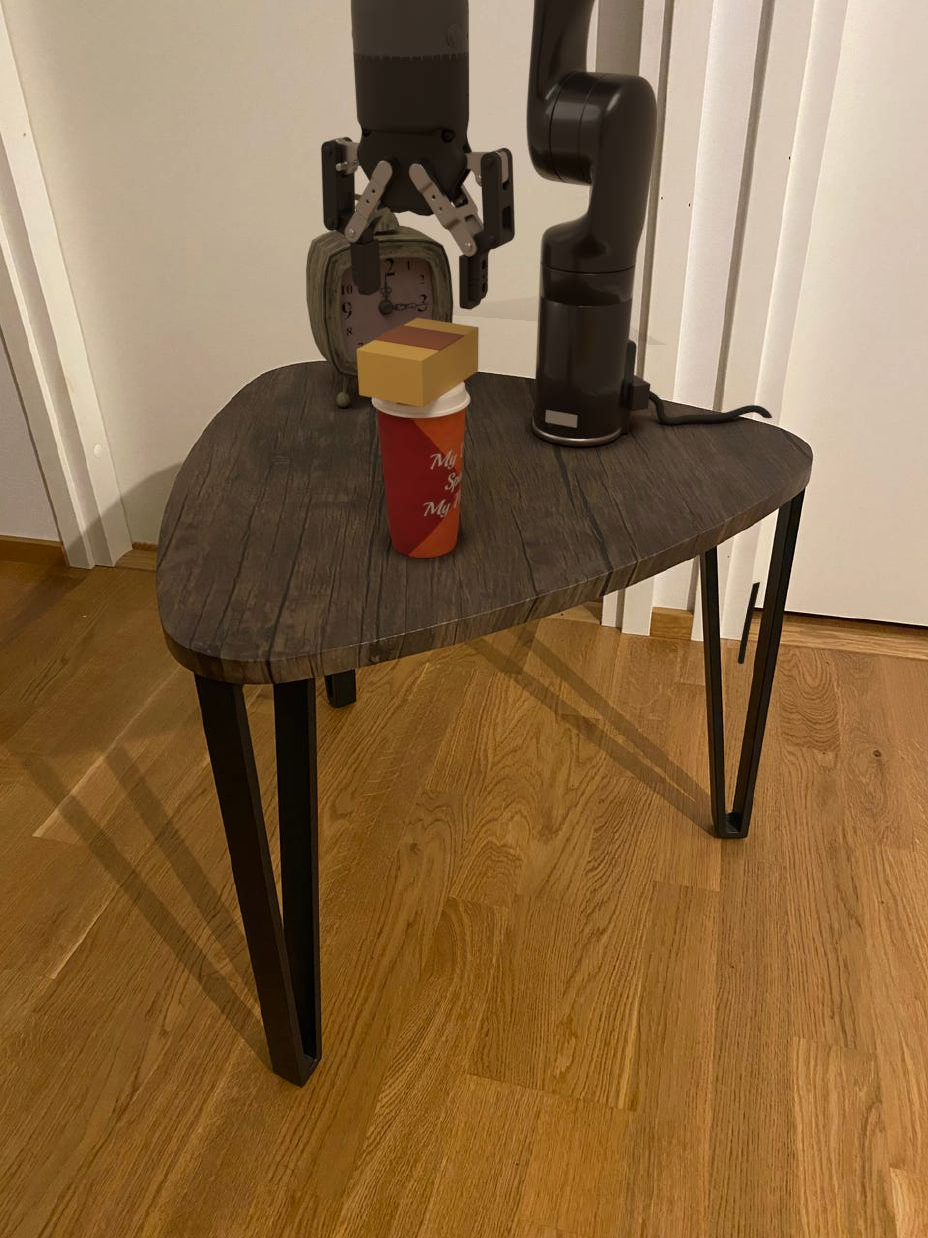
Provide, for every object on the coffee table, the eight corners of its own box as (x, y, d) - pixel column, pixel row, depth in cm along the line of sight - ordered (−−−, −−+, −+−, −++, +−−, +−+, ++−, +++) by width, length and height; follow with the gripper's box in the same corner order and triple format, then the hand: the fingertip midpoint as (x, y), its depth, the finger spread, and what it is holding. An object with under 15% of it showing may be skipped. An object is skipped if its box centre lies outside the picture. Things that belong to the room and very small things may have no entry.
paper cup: (459, 568, 80) (459, 404, 72) (368, 559, 81) (358, 396, 73) (477, 524, 86) (479, 369, 78) (393, 516, 87) (386, 362, 80)
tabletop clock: (330, 415, 107) (311, 167, 94) (310, 388, 115) (290, 153, 101) (454, 397, 112) (452, 158, 98) (427, 373, 119) (422, 146, 105)
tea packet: (417, 360, 80) (416, 316, 78) (479, 370, 78) (479, 326, 76) (358, 395, 73) (355, 348, 72) (423, 407, 71) (422, 359, 69)
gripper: (535, 44, 63) (527, 298, 72) (349, 39, 69) (364, 276, 78) (484, 52, 58) (482, 326, 67) (286, 46, 63) (309, 300, 72)
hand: (418, 299), depth 72 cm, fingers open, 8 cm apart
